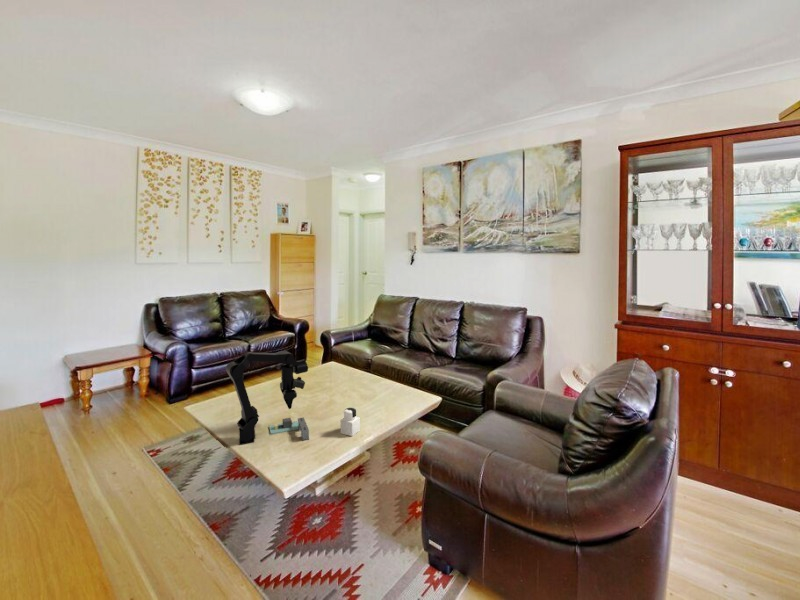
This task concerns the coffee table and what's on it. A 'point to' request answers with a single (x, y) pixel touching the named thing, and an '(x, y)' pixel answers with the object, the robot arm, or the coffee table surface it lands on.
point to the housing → (303, 429)
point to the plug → (285, 423)
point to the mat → (281, 429)
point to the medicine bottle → (350, 422)
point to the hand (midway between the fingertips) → (288, 405)
